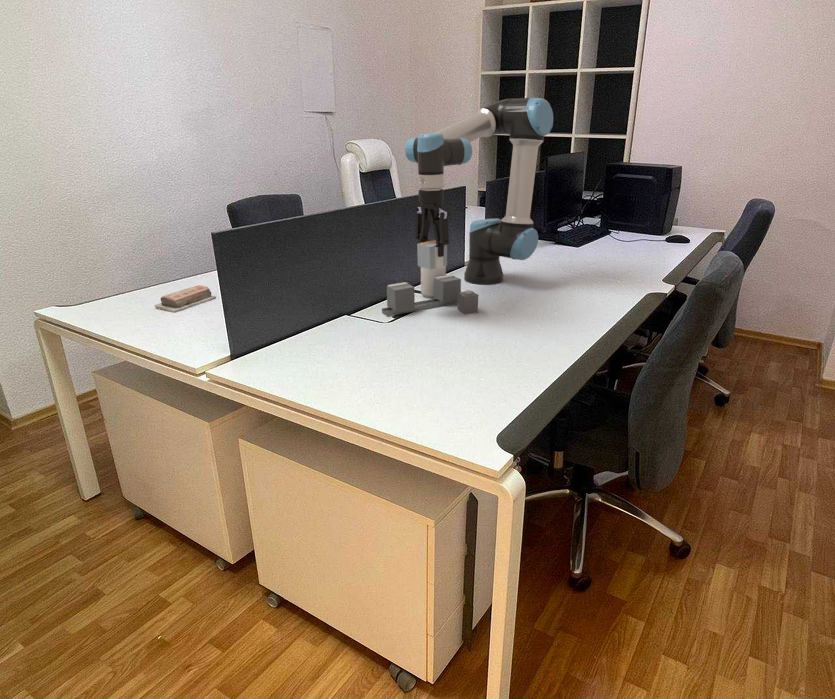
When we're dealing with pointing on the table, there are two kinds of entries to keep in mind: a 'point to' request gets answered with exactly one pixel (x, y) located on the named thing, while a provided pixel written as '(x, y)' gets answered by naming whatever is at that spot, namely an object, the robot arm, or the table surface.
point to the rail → (418, 306)
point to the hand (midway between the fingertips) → (432, 264)
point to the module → (429, 255)
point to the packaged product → (185, 299)
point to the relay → (467, 302)
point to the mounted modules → (404, 297)
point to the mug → (430, 280)
